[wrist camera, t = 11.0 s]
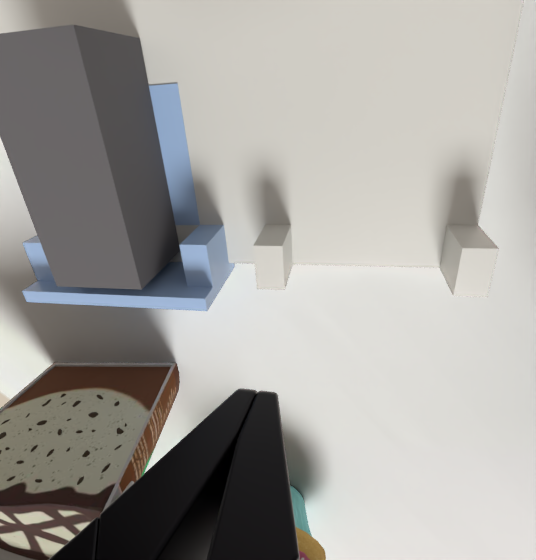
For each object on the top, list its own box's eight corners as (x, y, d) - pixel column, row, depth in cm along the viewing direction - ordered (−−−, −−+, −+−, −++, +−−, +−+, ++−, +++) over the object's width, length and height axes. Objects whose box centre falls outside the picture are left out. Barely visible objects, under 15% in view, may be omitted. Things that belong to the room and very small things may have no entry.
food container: (71, 424, 29) (-49, 571, 20) (36, 362, 26) (-118, 501, 18) (219, 431, 26) (153, 607, 17) (197, 362, 23) (107, 530, 15)
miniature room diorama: (533, -94, 11) (623, -178, 8) (461, 272, 17) (492, 325, 13) (-7, -12, 15) (-121, -41, 12) (83, 263, 21) (26, 302, 17)
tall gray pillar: (139, 38, 14) (73, 24, 11) (180, 250, 19) (141, 289, 15) (51, 47, 15) (-37, 38, 12) (109, 249, 19) (56, 286, 16)
